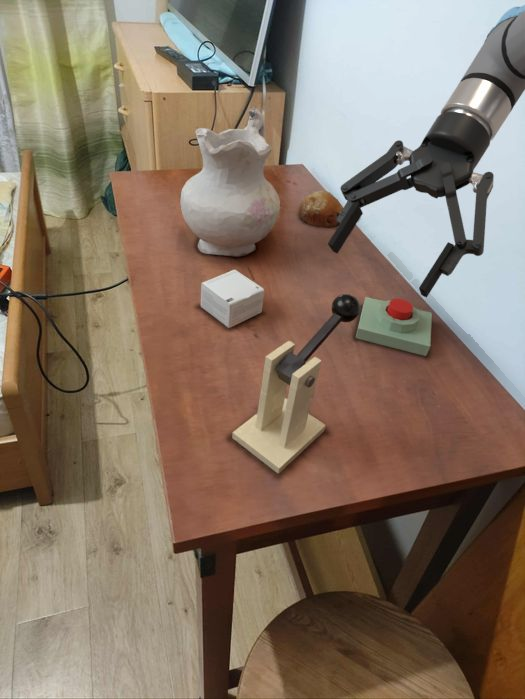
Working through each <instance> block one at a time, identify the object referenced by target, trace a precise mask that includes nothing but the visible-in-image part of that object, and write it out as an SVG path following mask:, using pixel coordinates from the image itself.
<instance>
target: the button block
mask: <svg viewBox="0 0 525 699" xmlns="http://www.w3.org/2000/svg"><path fill="white" fill-rule="evenodd" d="M391 300H392V299H391ZM391 300H390V299H389V300H385V301H384V300H380V299H376V298H372V297H368V296H365V297H364V301H363V303H362V304H363V305H362V307H361V311H360V313H361V314H360V316H359V322H358V326H357V329H356V334H355V339H358V340H362V341H365V342H369V343H374V344H377V345H380V346H384V347H385V346H386V347H388V348H393V349H397V350H400V351H404V352H408V353H412V354H416V355H420V356H424V357H427V356H428V354H429V352H430V349H431V340H432V321H433V320H432V319H433V318H432V317H433V316H432V315H433V313H432V312H429V311H425V310H421V309H418V308H416V307H415V306H413V311H412V314H411V316H410V318H409V319H408V320H398V319H394V318H393V317H391V316H389V315H388V313H387V309H388V306H389V303H390V301H391Z"/></svg>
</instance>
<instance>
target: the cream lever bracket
mask: <svg viewBox="0 0 525 699" xmlns="http://www.w3.org/2000/svg"><path fill="white" fill-rule="evenodd" d="M295 346H296V344H295V343H294V342H293V341H291V340H288V341H286V342H284V343H283V344H281V345H280V346H278V347H277V348H276V349H274V350H273V351H271V352H270V353H268V354H267V355H265V357H264V365H263V372H262V378H261V386H260V391H259V392H260V394H259V399H258V406H257V412H256V413H255V414H254V415H253V416H251V417H250V418H249V419H247V420H246V421H245V422H243V424H242V425H240V426H239V427H238V428H236V429H235V430H234V431H232V439H233V440H234V441H235V442H237V444H239V445H240V446H241V447H243V448H244V449H246V451H248V452H249V453H251V455H253V456H254V457H256V458H257V459H258V460H260V461H261V462H263V463H264V465H266V466H267V467H269V468H270V469H271V470H272V471H274V472H275V473H276V474H280V473H281V472H282V471H283V470H285V469H286V468H287V466H288V465H290V464H291V463H292V462H293V461H294V460H295V459H296V458H297V457H298V456H300V455H301V453H303V451H305V449H307V448H308V447H309V446H310V445H311V444H312V443H313V442H314V441H316V439H318V437H320V436H321V435H322V434H323V433H324V432H325V431H326V430H325V429H326V424H325V423H324V422H322V421H320V420H319V419H317V418H315V417H314V416H313V415H311V414H310V409H311V406H312V401H313V397H314V394H315V390H316V385H317V382H318V378H319V373H320V369H321V365H322V360H321V359H320V358H318V357H316V356H313V358H311V359H310V360H308V361H306V362H305V363H306V364H305V365H303V366H302V367H301V368H299V369H298V370H297V371H295V372H294V373H293V374H292V378H291V383H290V385H289V389H288V384H287V383H285V382H284V381H282V380H281V379H279V378H278V374H277V370H276V368H277V367H278V366H279V365H280V363H281V362H282V361H283V360H284V359H285V358H286V357H287V356H288V354H289V353H290V352H292V353H293V354H295V353H294V352H295V348H296V347H295ZM287 389H288V394H287ZM286 394H287V398H286Z"/></svg>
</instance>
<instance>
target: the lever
mask: <svg viewBox="0 0 525 699" xmlns="http://www.w3.org/2000/svg"><path fill="white" fill-rule="evenodd" d="M331 313H332V315H331V316H330V317H329V318H328V319H327V320H326V322H325V323H324V324H323V325H322V326H321V327H320V328H319V329H318V331H317V332H316V333H315V334H314V336H312V338H310V339H309V341H308V342H307V343H306V344H305V345H304V346H303V347H302V349H301V350H300V351H299V352H298V353H297V354H295V353H292V352H290V353H289V354H288V356H287V357H286V358H285V359H284V360H283V361H282V362H281V363H280V365H279V366H278V367H277V368H276V370H277V374H278V378H279V379H281V380H282V381H284V382H285V383H287V386H290V383H291V378H292V374H293V373H294V372H295V371H297V370H298V369H299V368H301V367H302V366H303V365H305V364H306V363H307V362H308V361H309V359H310V358H311V357H312V356H313V354H314V353H315V352H316V351H317V350H318V349H319V348H320V346H321V345H322V344H323V343H324V342H325V341H326V340H327V338H329V336H330V335H331V334H332V333H333V332H334V331H335V330H336V328H337V327H338V326H339V325H340V323H350V322H353V321H355V320H356V319H357V318H358V317H359V315H360V313H361V303H360V301H359V299H358V298H357V297H356V296H355V295H353V294H350V293H342V294H339V295H338V296H336V297H335V298H334V299H333V301H332V304H331Z"/></svg>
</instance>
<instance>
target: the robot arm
mask: <svg viewBox="0 0 525 699" xmlns="http://www.w3.org/2000/svg"><path fill="white" fill-rule="evenodd" d="M524 92H525V4H523V5H521V6H514V7H511V8H509V9H507V11H505V13H503V15H502V16H501V17H500V18H499V20H498V21H497V23H496V25H495V26H493V27H492V28H491V29H490V31H489V32H488V33H487V35H486V38H485V40H484V41H483V44H482V46H481V47H480V48H479V51H478V52H477V54H476V55H475V57H474V58H473V60H472V62H471V63H470V65H469V66H468V68H467V69H466V71H465V73H464V74H463V76H462V78H461V79H460V81H459V83H458V84H457V86H456V87H455V89H454V90H453V92H452V93H451V95H450V96H449V98H448V99H447V101H446V103H445V104H444V106H442V109H441V110H440V114H439V115H438V116H437V117H436V119H435V120H434V122H433V123H432V124H431V126H430V128H429V130H427V133H426V134H425V136H424V137H423V140H422V142H421V144H420V145H419V146H418V147H417V148H416V149H414V150H412V149H411V148H408V147H406V146H404V142H403V141H402V140H399V139H398V140H396V141H394V143H393V144H392V145H391V146H390V148H389V149H388V150H387V151H386V153H385V154H383V155H382V156H380V157H378V158H377V159H376V160H375V161H373V162H372V163H370V164H369V165H367V166H366V167H365V168H364V169H362V170H361V171H359V172H358V173H357V174H355V175H354V176H352V177H351V178H350V179H347V181H345V182H344V183H343V184H341V185H340V191H341V193H342V196H343V197H344V199H345V200H346V203H345V205H344V206H343V209H342V211H341V213H340V214H339V216H338V217H337V223H338V224H337V225H338V226H337V228H336V229H335V231H334V232H333V234H332V235H331V237H330V239H329V241H328V242H327V245H328V247H329V248H330V250H331V252H333V253H335V254H337V255H338V254H339V253H340V251H341V249H342V247H343V246H344V244H345V243H346V241H347V239H348V238H349V236H350V235H351V233H352V232H353V230H354V228H355V227H356V225H357V224H358V222H359V220H360V219H361V217H362V215H363V214H364V212H363V210H362V208H364V207H366V206H368V205H370V204H372V203H375V202H377V201H380V200H381V199H384V198H387V197H390V196H391V195H393V194H396V193H398V192H400V191H407V190H409V189H411V188H414V189H415V191H416V192H419V193H424V194H428V195H429V196H430V197H432V198H434V199H438V198H444V197H445V203H446V206H447V210H448V215H449V220H450V225H451V231H452V235H453V236H452V237H453V240H454V241H453V242H454V244H453V243H451V242H447V243H446V244H445V246H444V247H443V249H442V250H441V252H440V254H439V255H438V257H437V258H436V260H435V262H434V263H433V265H432V267H431V268H430V269H429V271H428V272H427V274H426V276H425V277H424V279H423V280H422V282H421V284H420V285H419V287H418V289H419V293H420V296H422V297H425V298H428V297H429V295H430V293H431V292H432V290H433V288H434V287H435V285H436V284H437V283H438V280H439V279H440V278H441V276H442V275H445V276H446V277H449V276H451V274H453V272H454V271H455V269H456V268H457V266H458V264H459V262H461V259H462V258H463V257H464V256H465V255H474V256H475V257H479V256H480V257H481V256H482V255H483V254H484V250H485V237H486V221H487V219H486V218H487V208H488V206H487V204H488V199H489V196H490V195H491V193H492V190H493V188H494V177H495V174H494V173H493V172H492V171H486V172H484V173H483V174H482V173H477V172H475V171H474V170H475V169H476V167H477V166H478V164H479V162H480V161H481V159H482V158H483V156H484V155H485V153H486V151H487V150H488V148H489V147H490V144H491V141H493V140H494V138H495V137H496V136H497V134H498V132H499V131H500V129H501V128H502V126H503V124H504V123H505V121H506V120H507V118H508V116H510V114H511V113H512V111H513V109H514V107H515V106H516V104H517V103H518V101H519V99H520V98H521V96H522V95H523V93H524ZM407 161H408V162H409V164H408V165H406V166H403V167H401V168H400V169H398V170H397V171H396V172H395V173H393V174H390V175H389V176H387V175H388V174H389V173H391V171H393V170H394V169H395V168H397V166H398V165H399V166H402V165H403V164H404V163H405V162H407ZM385 176H386V177H385ZM470 184H471V185H472V192H473V193H475V205H474V218H473V234H472V239H467V237H466V232H465V227H464V223H463V217H462V213H461V209H460V203H459V200H458V199H459V198H458V193H457V191H458V190H461V189H463V188H465V187H466V186H468V185H470Z"/></svg>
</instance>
